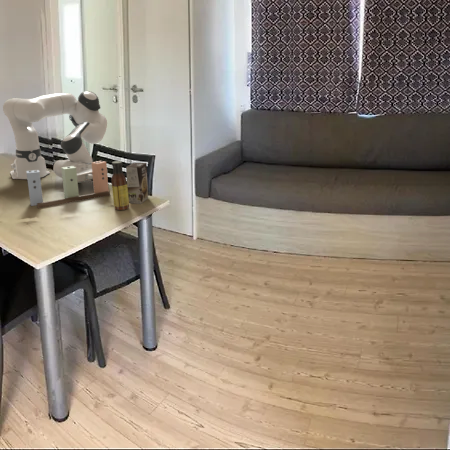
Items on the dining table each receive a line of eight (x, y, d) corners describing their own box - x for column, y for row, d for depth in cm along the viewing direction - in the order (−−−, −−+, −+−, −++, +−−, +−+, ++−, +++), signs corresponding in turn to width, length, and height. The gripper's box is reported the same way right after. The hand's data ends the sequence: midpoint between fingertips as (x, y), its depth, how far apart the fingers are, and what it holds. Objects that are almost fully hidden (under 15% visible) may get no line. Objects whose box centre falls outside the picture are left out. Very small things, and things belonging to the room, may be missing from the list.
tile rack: (24, 203, 237) (24, 197, 236) (101, 190, 256) (100, 184, 255) (35, 211, 226) (34, 204, 225) (113, 197, 245) (113, 191, 244)
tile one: (64, 199, 239) (61, 166, 235) (75, 197, 242) (72, 165, 237) (68, 201, 236) (64, 168, 231) (79, 199, 239) (76, 167, 234)
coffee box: (141, 204, 236) (139, 167, 230) (127, 203, 237) (125, 166, 232) (148, 198, 244) (147, 162, 239) (135, 197, 245) (133, 161, 240)
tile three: (94, 193, 248) (91, 162, 243) (102, 190, 252) (100, 160, 247) (100, 194, 245) (97, 163, 241) (108, 192, 249) (106, 161, 244)
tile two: (30, 203, 233) (26, 170, 229) (42, 202, 235) (38, 169, 230) (30, 206, 230) (26, 172, 225) (43, 204, 231) (39, 171, 227)
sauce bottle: (131, 206, 233) (128, 160, 226) (127, 211, 227) (124, 163, 220) (115, 206, 233) (112, 160, 227) (111, 210, 227) (108, 163, 221)
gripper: (58, 170, 247) (77, 174, 239) (95, 162, 262) (114, 166, 254) (60, 183, 249) (79, 188, 241) (96, 175, 264) (115, 179, 256)
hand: (97, 177), depth 248 cm, fingers closed, pressing on tile three
